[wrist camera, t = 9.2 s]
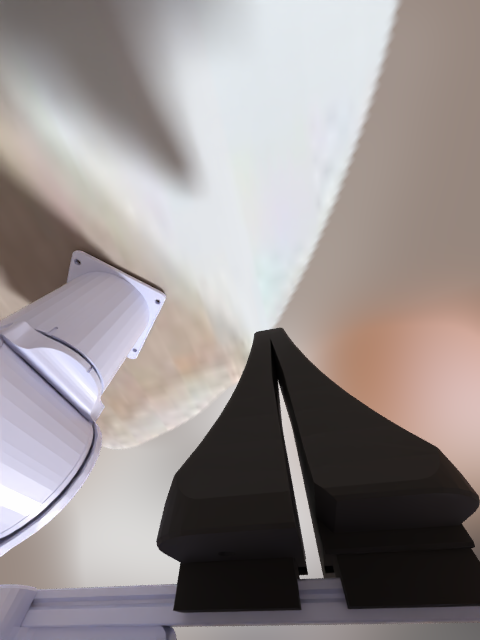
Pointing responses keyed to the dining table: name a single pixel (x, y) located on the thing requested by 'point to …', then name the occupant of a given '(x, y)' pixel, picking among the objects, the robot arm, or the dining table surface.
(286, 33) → the dining table surface
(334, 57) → the dining table surface
